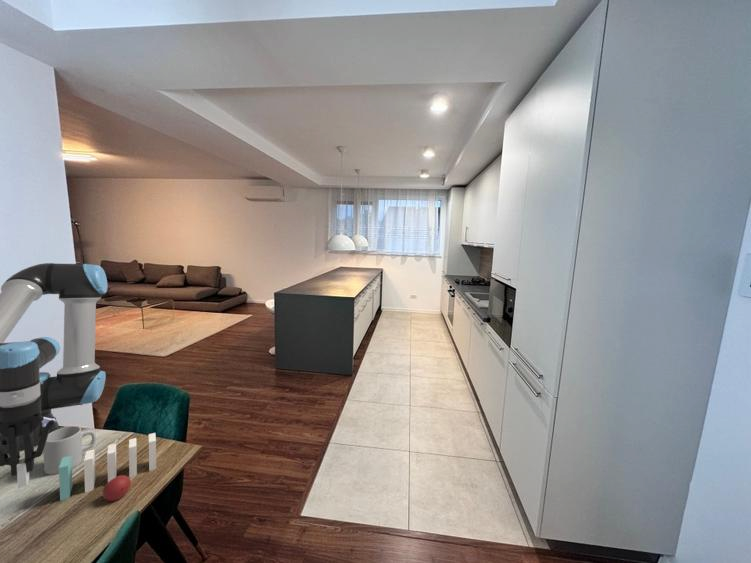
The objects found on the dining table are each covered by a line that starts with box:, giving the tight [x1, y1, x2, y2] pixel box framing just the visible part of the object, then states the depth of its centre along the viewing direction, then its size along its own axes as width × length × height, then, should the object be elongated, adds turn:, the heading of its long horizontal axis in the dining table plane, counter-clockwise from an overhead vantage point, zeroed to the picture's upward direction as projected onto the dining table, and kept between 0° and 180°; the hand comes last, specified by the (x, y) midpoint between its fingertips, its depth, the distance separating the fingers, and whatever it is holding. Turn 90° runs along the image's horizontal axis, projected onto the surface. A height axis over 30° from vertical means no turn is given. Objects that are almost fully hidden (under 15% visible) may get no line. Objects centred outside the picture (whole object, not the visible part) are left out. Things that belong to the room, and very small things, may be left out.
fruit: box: [102, 474, 132, 502], centre depth 85 cm, size 6×6×8 cm
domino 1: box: [58, 456, 73, 501], centre depth 85 cm, size 2×5×10 cm, turn 39°
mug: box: [43, 425, 97, 476], centre depth 96 cm, size 12×8×11 cm
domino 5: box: [148, 432, 157, 472], centre depth 97 cm, size 2×5×10 cm, turn 39°
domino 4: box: [128, 437, 138, 479], centre depth 94 cm, size 2×5×10 cm, turn 39°
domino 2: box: [83, 448, 96, 493], centre depth 88 cm, size 2×5×10 cm, turn 39°
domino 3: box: [106, 442, 118, 483], centre depth 91 cm, size 2×5×10 cm, turn 39°
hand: (23, 483), depth 80 cm, fingers closed
